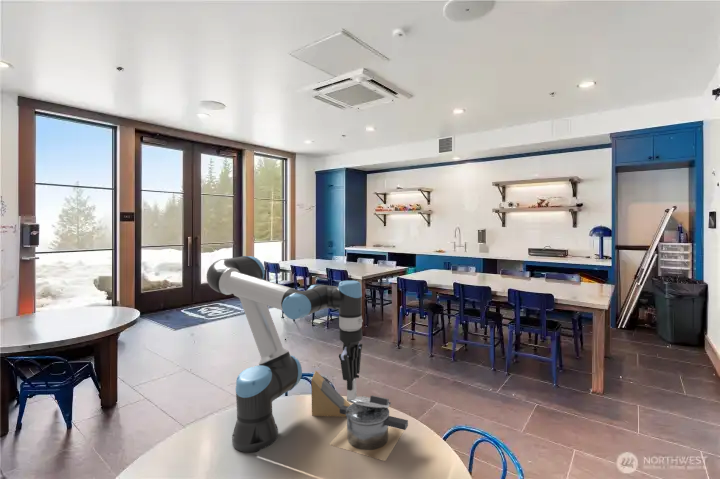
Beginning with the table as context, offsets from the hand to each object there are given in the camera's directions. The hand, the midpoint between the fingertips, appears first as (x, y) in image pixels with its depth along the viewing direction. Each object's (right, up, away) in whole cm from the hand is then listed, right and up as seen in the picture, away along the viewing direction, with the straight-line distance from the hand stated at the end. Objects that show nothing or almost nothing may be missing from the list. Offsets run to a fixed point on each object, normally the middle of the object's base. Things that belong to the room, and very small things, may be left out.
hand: (351, 397), depth 123 cm
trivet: (+5, -15, +3) cm, 16 cm away
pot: (+7, -15, +3) cm, 17 cm away
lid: (+6, -3, +3) cm, 7 cm away
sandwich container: (-8, -15, +21) cm, 27 cm away
